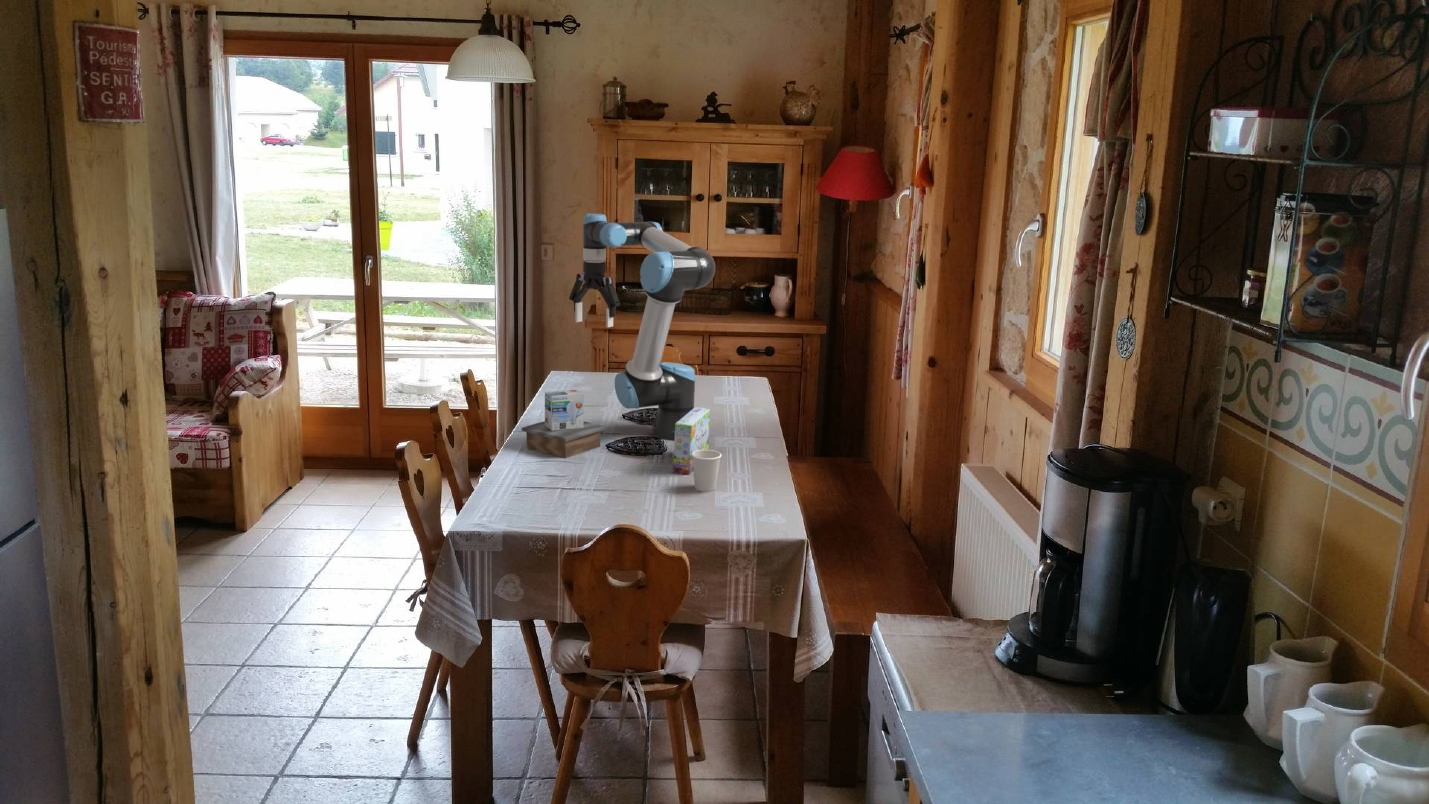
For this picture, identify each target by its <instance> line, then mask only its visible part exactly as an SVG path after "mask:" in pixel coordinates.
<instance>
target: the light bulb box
mask: <svg viewBox="0 0 1429 804" xmlns="http://www.w3.org/2000/svg"><path fill="white" fill-rule="evenodd" d="M584 396H585V394H584V393H582V392H580V391H579V390H578V389H569V390H568V389H567V390H557V391H545V392H544V421H545V426H546V427H547V428H549V429H550V430H551V431H555V430H566V429H577V428H583V421H584V414H585V413H584V405H585V404H584V402H585V401H584V400H585V399H584V398H585V397H584Z"/></svg>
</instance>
